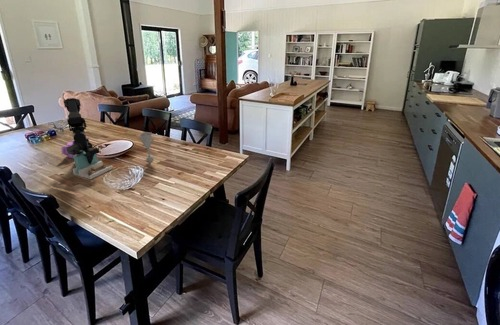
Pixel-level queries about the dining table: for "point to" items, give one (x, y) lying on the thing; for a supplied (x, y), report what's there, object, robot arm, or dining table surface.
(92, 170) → the offcut stack
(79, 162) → the teal flat block
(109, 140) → the dining table surface
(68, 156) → the teapot
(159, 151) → the dining table surface
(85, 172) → the rack
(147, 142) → the chalice
